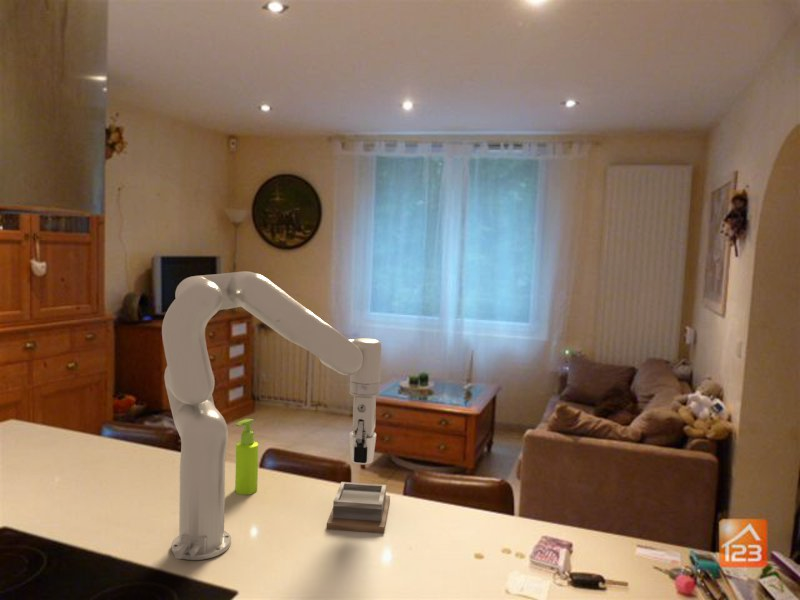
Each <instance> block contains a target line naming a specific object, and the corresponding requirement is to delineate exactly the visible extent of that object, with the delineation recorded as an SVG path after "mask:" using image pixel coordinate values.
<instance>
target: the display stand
mask: <svg viewBox="0 0 800 600" xmlns="http://www.w3.org/2000/svg"><path fill="white" fill-rule="evenodd" d="M386 493H387V484H380V483H379V484H377V483H366V482H365V483H363V482H349V481H348V482H347V481H341V482H340V485H339V487H338V489H337V492H336V494H335V497H334V499H333V506H332V508H331V511H330V514H329V516H328V518H327V521H326V530H332V531H334V530H335V531H336V530H337V531H349V532H364V533H375V534H377V533H378V534H385V529H386V524H387V520H388V519H387V518H388V514H389V507H390V503H391V495H387V494H386Z"/></svg>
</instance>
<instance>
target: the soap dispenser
mask: <svg viewBox="0 0 800 600" xmlns="http://www.w3.org/2000/svg"><path fill="white" fill-rule="evenodd" d="M254 421H255V419H254V418H253V419H252V418H245V419H241V420H239V421H237V422H236V423H235V424H234V425H235V426H237V427H242V426H244V429H243V430H242V431H241V432H240V441H239V442H237V443H236V444H235V483H234V484H235V486H234V490H235V493H236V494H238V495H243V496H246V495H252V494H255V493H257V492H258V477H259V475H258V474H259V473H258V472H259V470H258V469H259V464H258V463H259V443H258V442H257V441H255V440H254V439H255V435H254V434H255V431H254V430H252V423H253V422H254Z"/></svg>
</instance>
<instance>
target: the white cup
mask: <svg viewBox="0 0 800 600" xmlns="http://www.w3.org/2000/svg"><path fill="white" fill-rule="evenodd" d="M363 434H365V432H363ZM348 435H349V447H350V448H349V451H350V461H351V462H352V463H353V464H356V465H369V464H371V463H373V462H374V456H375V449H376V440H377V433H376V432H375V431H374V432H373V435H372V436H369V435H367V443H366V447H367V462H366V463H357V462H354V446H355V438H356V435H354V434H353V430H352V431H351V432H349V434H348ZM362 439H364V437H363V438H362Z"/></svg>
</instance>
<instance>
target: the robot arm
mask: <svg viewBox="0 0 800 600" xmlns="http://www.w3.org/2000/svg"><path fill="white" fill-rule="evenodd" d="M174 294H175V295H174V296H175V299H174V300H173V301H172V303H170V305H169V306H168V308H167V311H166V313H165V314H164V318H163V320H162V325H161V336H162V345H163V349H164V356H165V360H166V367H165V371H164V379H163V380H164V385H165V389H166V394H167V398H168V402H169V407H170V410H171V414H172V419H173V423H174V426H175V428H176V431H177V432H178V435H179V437H180V443H181V446H180V448H181V449H180V458H179V520H178V521H179V523H178V524H179V529H178V530H179V531H178V532H179V533H178V536H177V537H175V538H174V540H173V541H172V543H171V552H172V553H173V557H174V558H175V559H177V560H182V559H183V560H188V561H201V560H207V559H211V558H215V557H217V556H220V555H222V554H223V553H225V552H226V551H227V550H228V549H229V548H230V547H231V544H232V537H231V535H230V534H229V532H227V531H226V530H225V501H226V500H225V495H226V491H225V490H226V489H225V488H226V455H227V449H228V441H229V440H228V439H229V430H228V429H229V428H228V425H227V422H226V420H225V418H224V416H223V415H222V413H220V411H219V410H218V409H217V408H216V406H215V402H214V397H213V393H214V389H215V383H216V382H215V375H214V372H213V369H212V365H211V360H210V357H209V356H210V355H209V353H208V349H207V340H206V328H207V326H208V323H209V321H210V320H211V319H212V317H214V316H215V315H216V314H217V313H218V312H219V311H221V310H229V309H234V308H242V309H244V310H245V311H247V312H248V313H250V314H251V315H252V316H254V317H255V318H256V319H257V320H259V321H261V322H262V323H263V324H265V325H266V326H267V327H269V328H270V329H271V330H273V331H274V332H276V333H278V335H280V336H281V337H283V338H284V339H285V340H288V341H289V342H290V343H292V344H295V345H297V346H299V347H301V348H303V349H305V350H306V351H308V352H309V353H311V354H312V355H314V356H315V357H317V358H318V359H319V361H320V363H321V364H322V365H324V366H325V367H327V368H329V369H331V370H333V371H334V372H336V373H338V374H340V375H343V376H349V379H350V380H349V395H351V396H353V404H352V407H353V409H352V431H353V434H354V435H356V438H355V446H354V462H357V463H366V462H367V447H366V443H367V435H369V436H372V435H373V432H375V429H376V422H377V421H376V418H377V417H376V415H377V413H376V412H377V407H376V405H377V396H379V395H380V390H381V388H380V387H381V366H382V365H381V363H382V362H381V361H382V343H381V341H380V340H378V339H375V338H371V337H370V338H369V337H362V338H361V337H359V338H355V339H354V338H353V339H351V338H350V339H349V338H348V337H346V336H344V335H343V334H342V333H341V332H339V331H338V330H337V329H335V328H334V327H333V326H331V325H330V324H328V323H327V322H325V320H323V319H321V318H320V317H319V316H317V315H316V314H315V313H313V312H312V311H311V310H309V309H308V308H306V306H304V305H303V304H301V302H298V300H296V299H294V298H293V297H292V296H291V295H289V294H288V293H287V292H286V291H284V290H283V289H282V288H281V287H279V286H278V285H276V284H275V283H274V282H273V281H271V280H270V279H269V278H267V277H265V276H264V275H262V274H260V273H256V272H252V271H248V270H247V271H245V270H243V271H237V272H236V271H234V272H226V273H217V274H215V273H214V274H204V275H201V274H200V275H194V276H192V275H191V276H189V277H186V278H184V279H183V280H182V281H181V282H179V284H177V286H176V289H175V292H174ZM363 432H365V434H363ZM363 437H364V439H362V438H363Z"/></svg>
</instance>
